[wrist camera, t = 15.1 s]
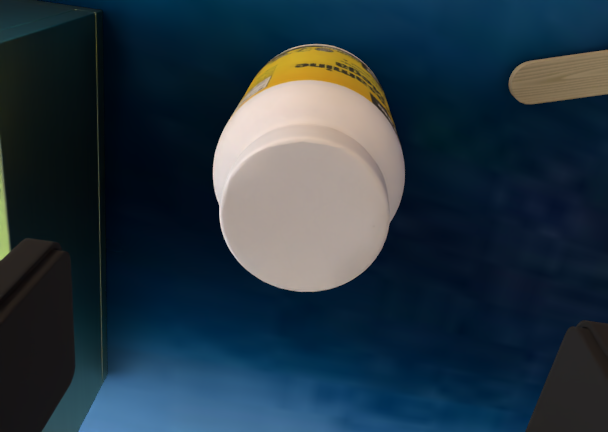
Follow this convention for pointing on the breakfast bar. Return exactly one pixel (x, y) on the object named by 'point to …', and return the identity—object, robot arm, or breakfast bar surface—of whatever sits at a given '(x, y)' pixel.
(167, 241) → the breakfast bar surface
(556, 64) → the ice cream bar
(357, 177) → the pill bottle
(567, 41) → the breakfast bar surface
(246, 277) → the breakfast bar surface
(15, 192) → the bin
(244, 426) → the breakfast bar surface
